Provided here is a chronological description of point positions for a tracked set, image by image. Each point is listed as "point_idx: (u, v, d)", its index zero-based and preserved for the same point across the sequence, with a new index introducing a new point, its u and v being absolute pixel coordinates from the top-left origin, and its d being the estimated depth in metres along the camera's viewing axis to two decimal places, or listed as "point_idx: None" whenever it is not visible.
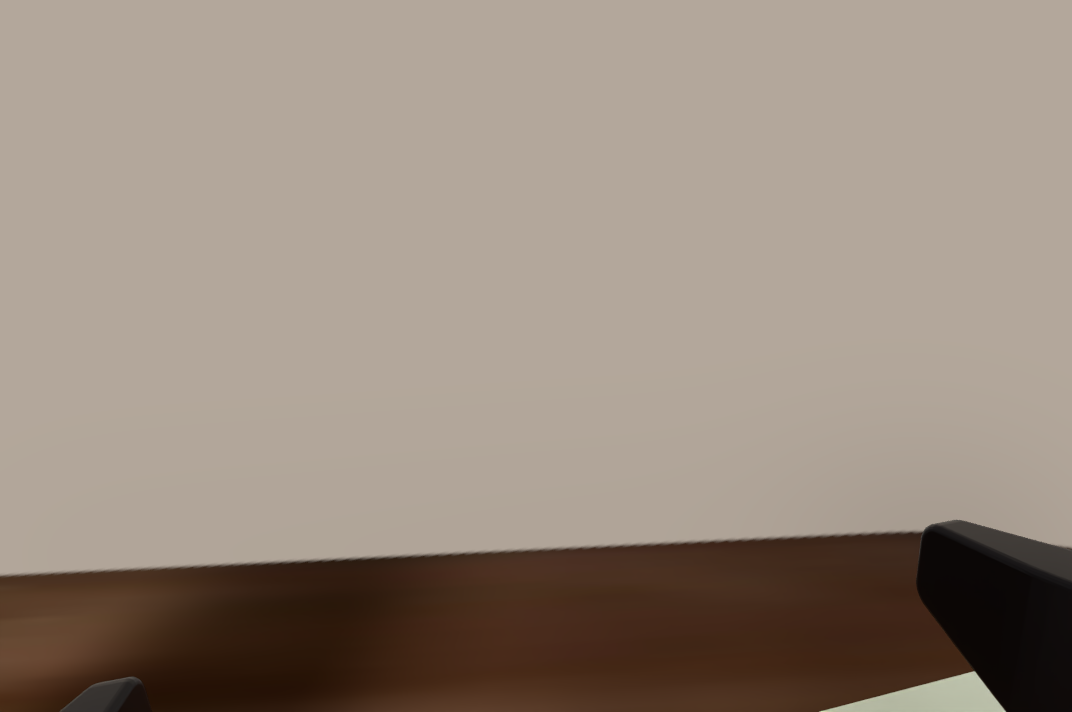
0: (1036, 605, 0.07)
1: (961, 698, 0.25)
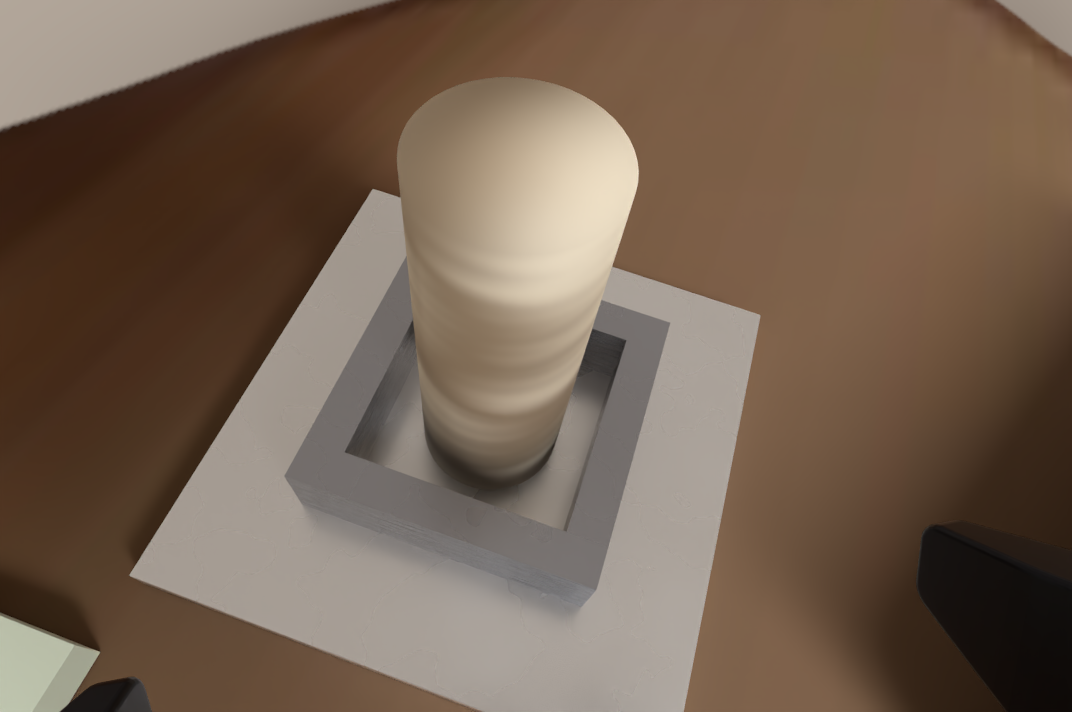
0: (1036, 605, 0.07)
1: None
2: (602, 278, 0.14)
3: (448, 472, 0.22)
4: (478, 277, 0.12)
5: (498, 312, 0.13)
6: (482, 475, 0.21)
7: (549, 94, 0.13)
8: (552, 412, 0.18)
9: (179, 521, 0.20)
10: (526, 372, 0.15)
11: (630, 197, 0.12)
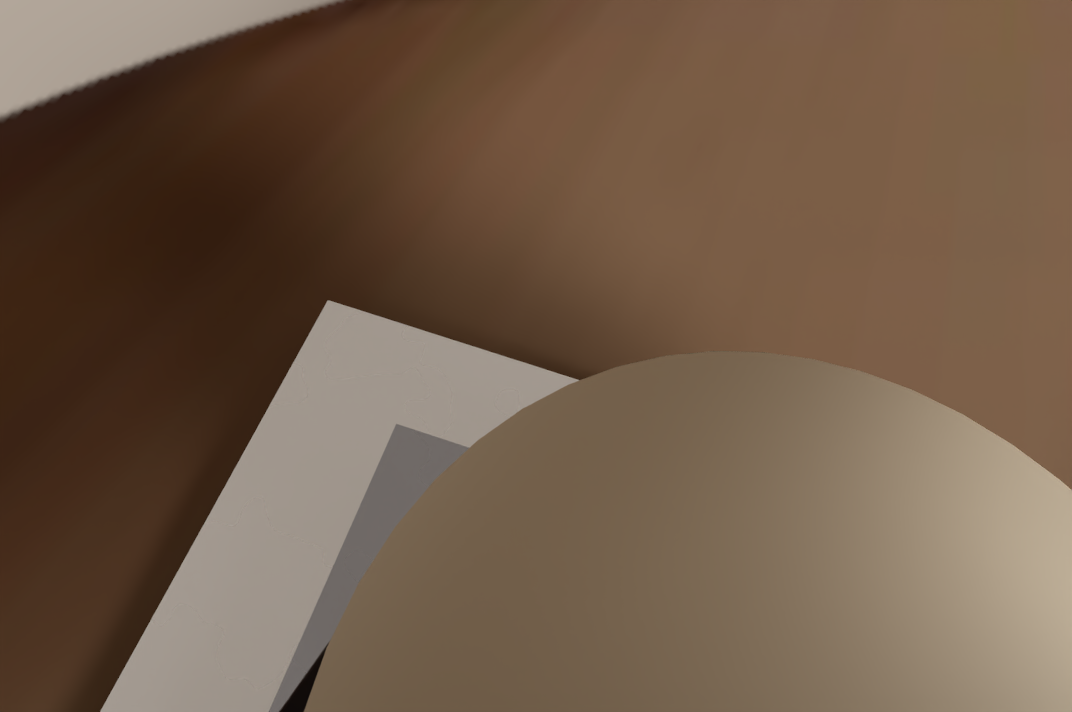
0: None
1: None
2: None
3: None
4: None
5: None
6: None
7: (853, 422, 0.04)
8: None
9: None
10: None
11: None
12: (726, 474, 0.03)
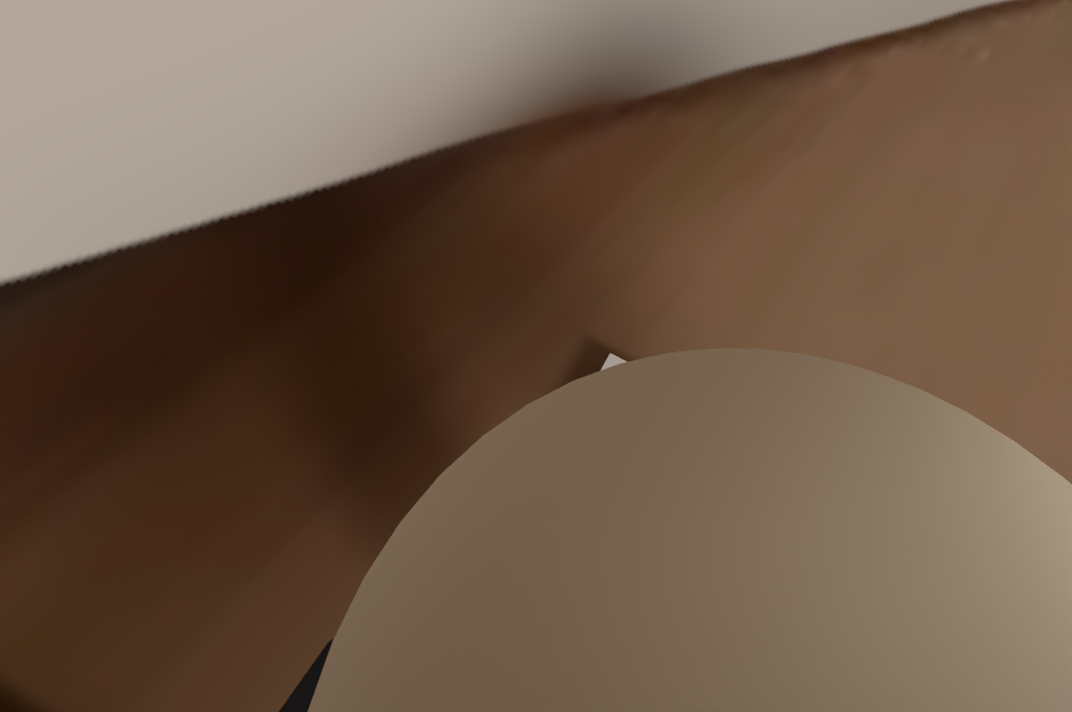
0: None
1: None
2: None
3: None
4: None
5: None
6: None
7: (856, 419, 0.04)
8: None
9: None
10: None
11: None
12: (730, 470, 0.03)
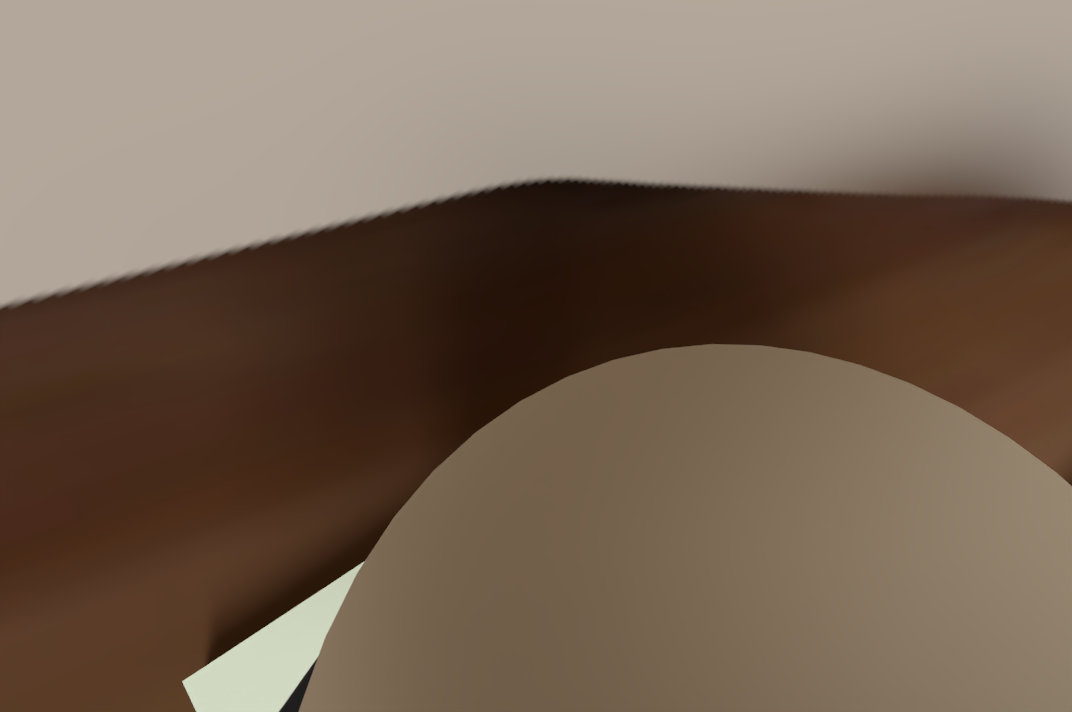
0: None
1: None
2: None
3: None
4: None
5: None
6: None
7: (850, 414, 0.04)
8: None
9: None
10: None
11: None
12: (723, 466, 0.04)
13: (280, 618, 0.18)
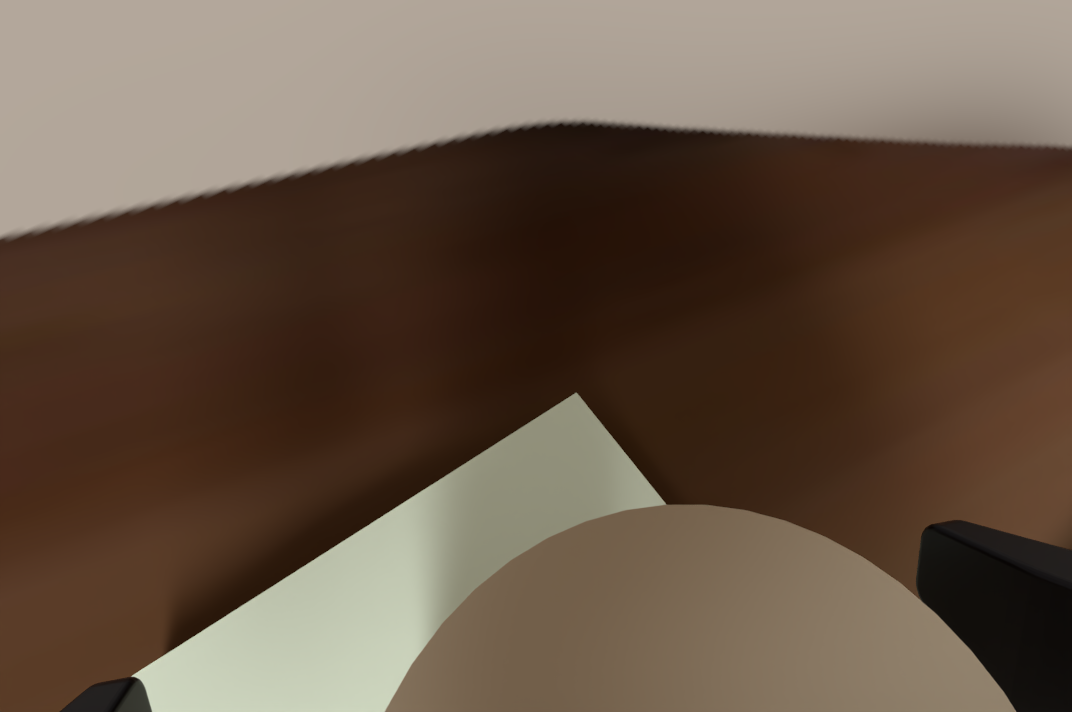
0: (1036, 605, 0.07)
1: (515, 473, 0.17)
2: None
3: None
4: None
5: None
6: None
7: (774, 566, 0.05)
8: None
9: None
10: None
11: None
12: (670, 614, 0.04)
13: (250, 602, 0.15)
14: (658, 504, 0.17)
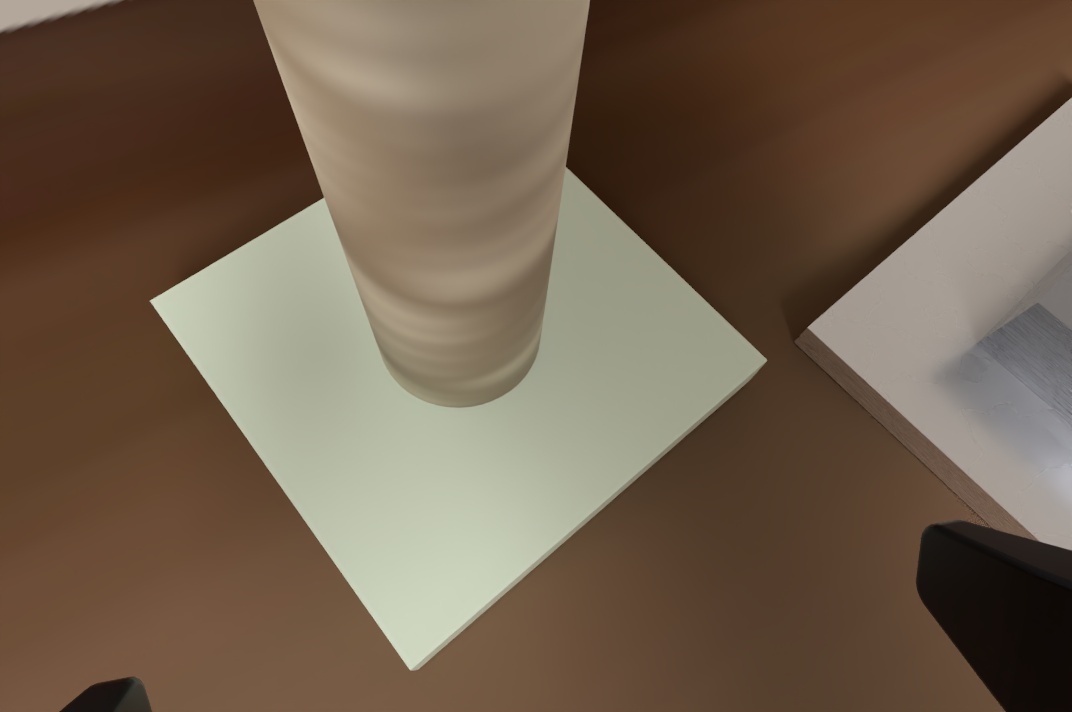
0: (1036, 605, 0.07)
1: None
2: (568, 67, 0.09)
3: (412, 392, 0.18)
4: (370, 63, 0.08)
5: (416, 128, 0.09)
6: (452, 390, 0.17)
7: None
8: (526, 296, 0.14)
9: (857, 303, 0.20)
10: (478, 232, 0.11)
11: None
12: None
13: (237, 251, 0.20)
14: None
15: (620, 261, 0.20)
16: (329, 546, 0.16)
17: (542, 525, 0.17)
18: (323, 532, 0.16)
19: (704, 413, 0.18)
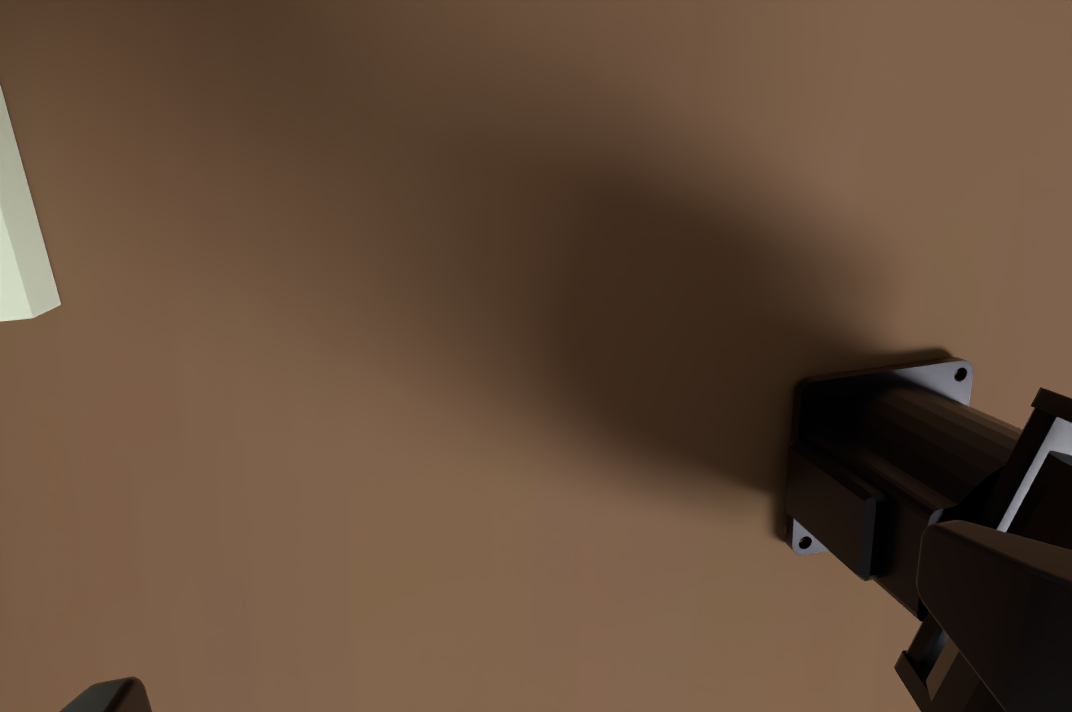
0: (1036, 605, 0.07)
1: None
2: None
3: None
4: None
5: None
6: None
7: None
8: None
9: None
10: None
11: None
12: None
13: None
14: None
15: None
16: None
17: None
18: None
19: None
